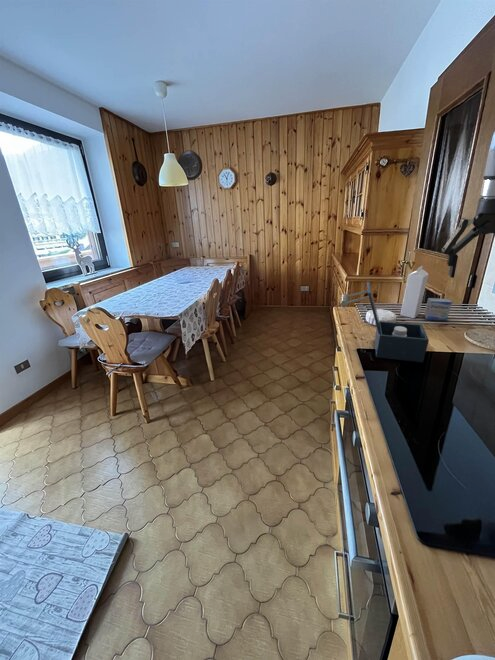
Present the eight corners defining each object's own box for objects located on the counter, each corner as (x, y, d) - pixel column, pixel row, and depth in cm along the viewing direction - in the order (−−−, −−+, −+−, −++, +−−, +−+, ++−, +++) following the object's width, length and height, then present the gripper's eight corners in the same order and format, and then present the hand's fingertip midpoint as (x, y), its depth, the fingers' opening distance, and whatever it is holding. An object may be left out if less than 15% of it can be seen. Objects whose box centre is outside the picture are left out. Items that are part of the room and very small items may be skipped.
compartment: (416, 345, 105) (422, 324, 101) (422, 362, 95) (428, 340, 91) (374, 341, 110) (377, 320, 106) (376, 357, 100) (379, 335, 96)
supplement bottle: (406, 352, 100) (411, 331, 96) (392, 353, 100) (396, 332, 96) (399, 345, 104) (404, 325, 100) (386, 346, 105) (390, 325, 101)
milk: (419, 314, 128) (431, 266, 118) (414, 318, 125) (425, 269, 114) (405, 310, 132) (415, 264, 122) (399, 315, 129) (409, 267, 118)
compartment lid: (369, 281, 100) (340, 289, 105) (370, 292, 91) (338, 300, 95) (379, 319, 105) (350, 325, 110) (381, 334, 96) (350, 339, 100)
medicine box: (426, 319, 123) (430, 301, 119) (423, 315, 127) (428, 297, 123) (447, 321, 121) (452, 302, 117) (443, 316, 124) (449, 298, 120)
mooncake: (376, 328, 119) (377, 321, 117) (360, 317, 129) (361, 310, 127) (401, 324, 120) (403, 316, 119) (383, 313, 131) (385, 306, 129)
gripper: (554, 186, 71) (527, 267, 81) (437, 200, 79) (426, 272, 90) (572, 189, 65) (541, 277, 75) (443, 205, 74) (431, 281, 84)
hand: (478, 274), depth 82 cm, fingers open, 13 cm apart
